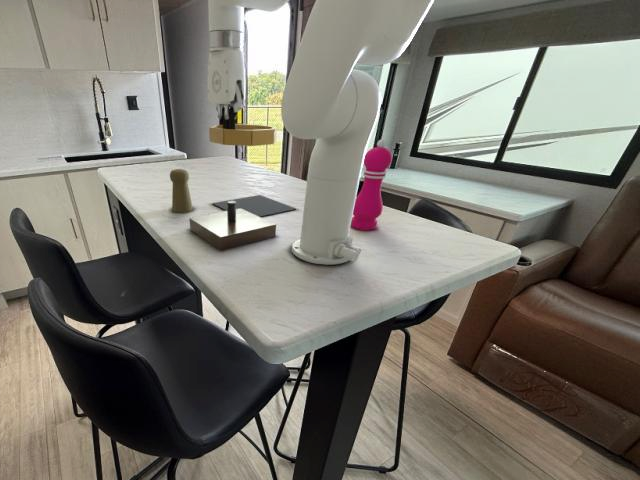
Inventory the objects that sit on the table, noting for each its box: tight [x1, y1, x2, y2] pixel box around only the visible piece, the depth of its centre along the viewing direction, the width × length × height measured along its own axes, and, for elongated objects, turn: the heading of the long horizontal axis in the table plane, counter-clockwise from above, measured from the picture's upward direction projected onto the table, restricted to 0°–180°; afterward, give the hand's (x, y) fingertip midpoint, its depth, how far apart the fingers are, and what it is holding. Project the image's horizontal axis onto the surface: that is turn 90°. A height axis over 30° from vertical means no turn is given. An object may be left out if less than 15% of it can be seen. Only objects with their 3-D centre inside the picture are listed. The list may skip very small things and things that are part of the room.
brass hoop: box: [208, 123, 278, 147], centre depth 75 cm, size 15×15×3 cm
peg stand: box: [189, 200, 277, 251], centre depth 75 cm, size 15×15×8 cm
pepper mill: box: [350, 139, 393, 231], centre depth 76 cm, size 7×7×20 cm
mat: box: [212, 194, 297, 218], centre depth 96 cm, size 18×18×1 cm
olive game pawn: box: [169, 168, 194, 214], centre depth 90 cm, size 6×6×11 cm
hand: (227, 136), depth 80 cm, fingers closed on brass hoop, 1 cm apart
